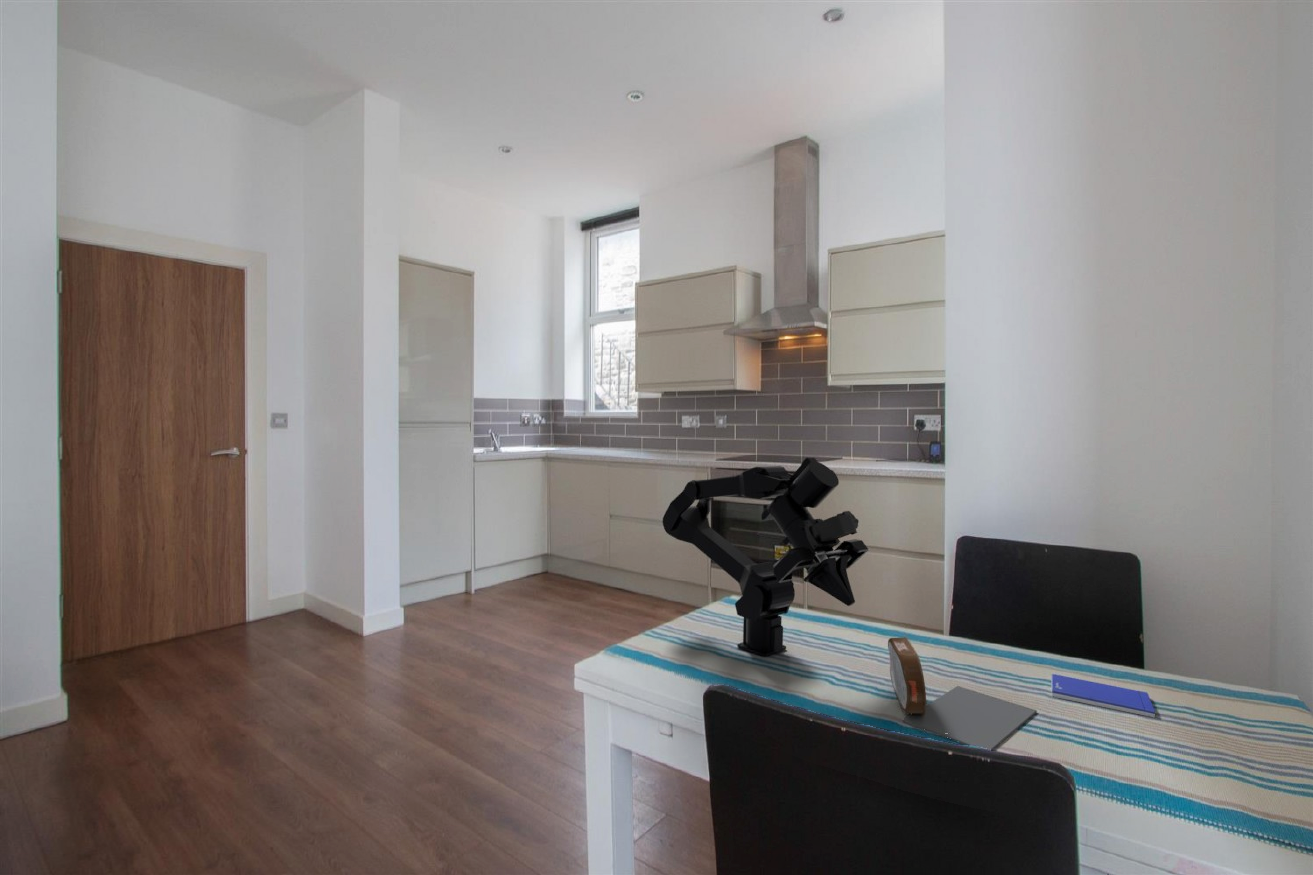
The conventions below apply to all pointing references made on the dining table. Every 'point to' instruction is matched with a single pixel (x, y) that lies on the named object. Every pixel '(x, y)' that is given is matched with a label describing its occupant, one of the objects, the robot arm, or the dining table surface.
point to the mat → (971, 718)
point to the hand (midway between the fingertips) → (851, 604)
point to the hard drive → (1102, 695)
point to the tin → (907, 676)
